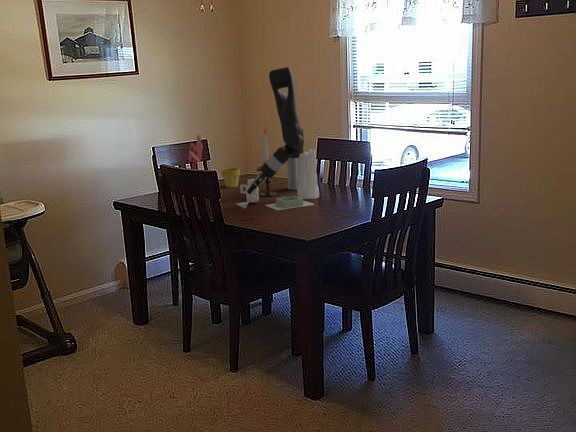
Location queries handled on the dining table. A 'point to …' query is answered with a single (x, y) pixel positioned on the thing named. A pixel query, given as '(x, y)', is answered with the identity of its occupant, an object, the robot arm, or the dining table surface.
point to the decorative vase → (308, 176)
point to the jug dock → (288, 203)
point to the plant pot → (231, 177)
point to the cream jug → (254, 194)
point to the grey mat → (243, 204)
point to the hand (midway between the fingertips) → (248, 191)
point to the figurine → (198, 149)
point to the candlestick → (267, 181)
